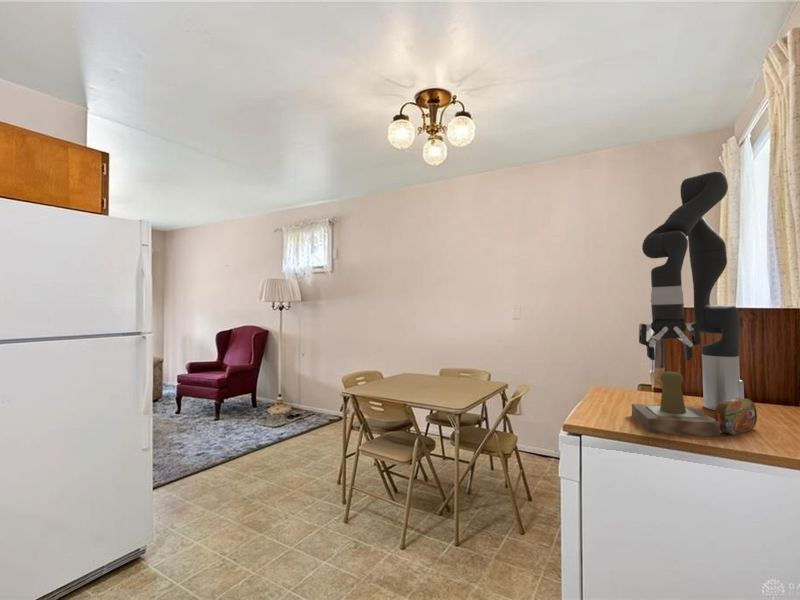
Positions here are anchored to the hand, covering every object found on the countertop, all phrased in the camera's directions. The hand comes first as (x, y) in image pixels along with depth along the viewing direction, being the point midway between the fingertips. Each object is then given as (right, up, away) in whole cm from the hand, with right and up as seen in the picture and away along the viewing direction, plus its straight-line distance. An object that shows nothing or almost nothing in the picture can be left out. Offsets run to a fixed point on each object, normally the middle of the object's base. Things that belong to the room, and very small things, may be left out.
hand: (669, 359), depth 108 cm
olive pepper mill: (+1, -15, 0) cm, 15 cm away
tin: (+14, -18, -6) cm, 24 cm away
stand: (0, -18, 0) cm, 18 cm away
